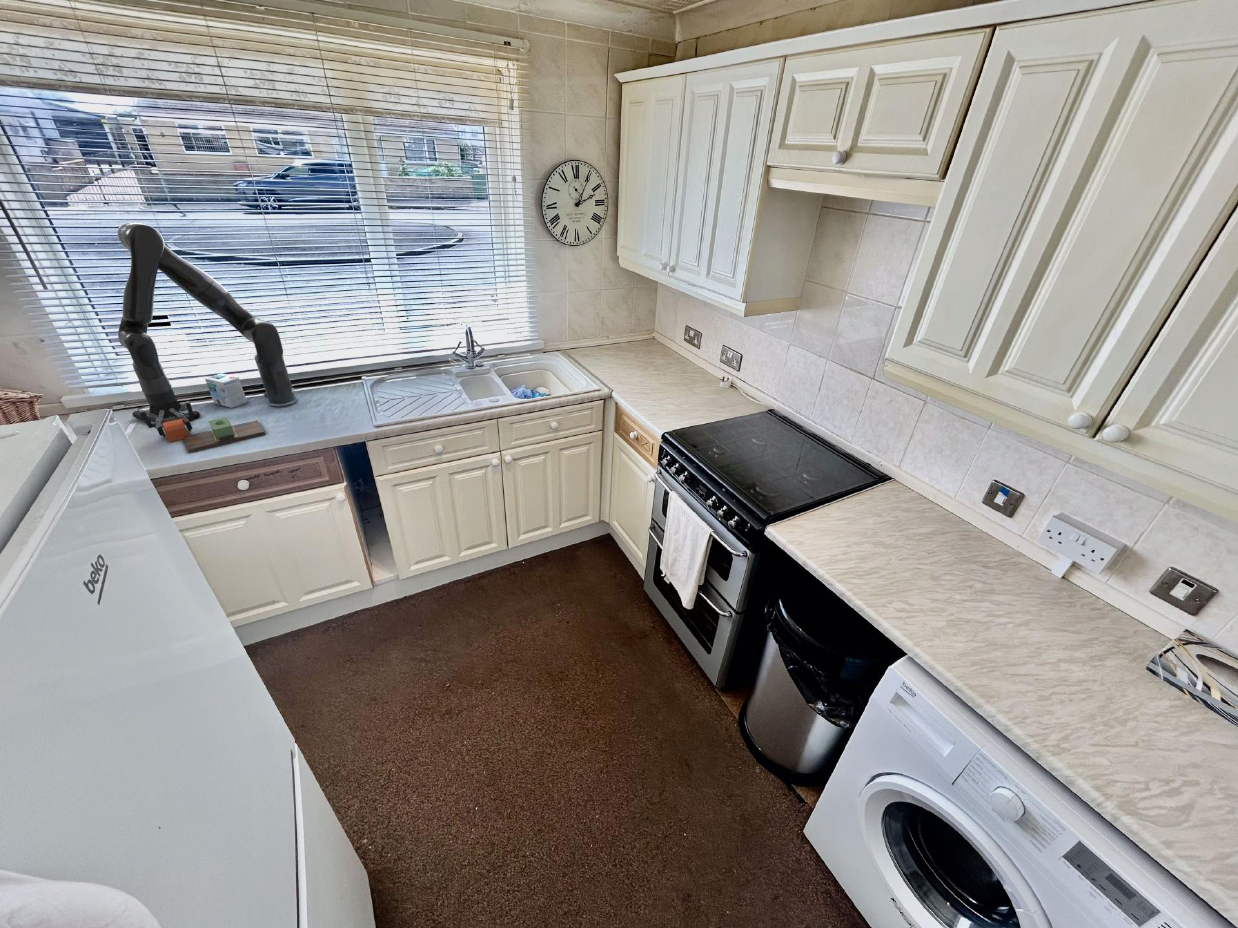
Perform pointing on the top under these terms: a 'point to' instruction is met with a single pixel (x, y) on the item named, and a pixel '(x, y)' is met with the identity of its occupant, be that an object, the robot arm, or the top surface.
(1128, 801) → the top surface
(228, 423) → the green block with hole
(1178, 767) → the top surface
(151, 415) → the black rectangular frame
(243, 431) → the jig board
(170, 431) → the orange block
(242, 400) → the light bulb box
